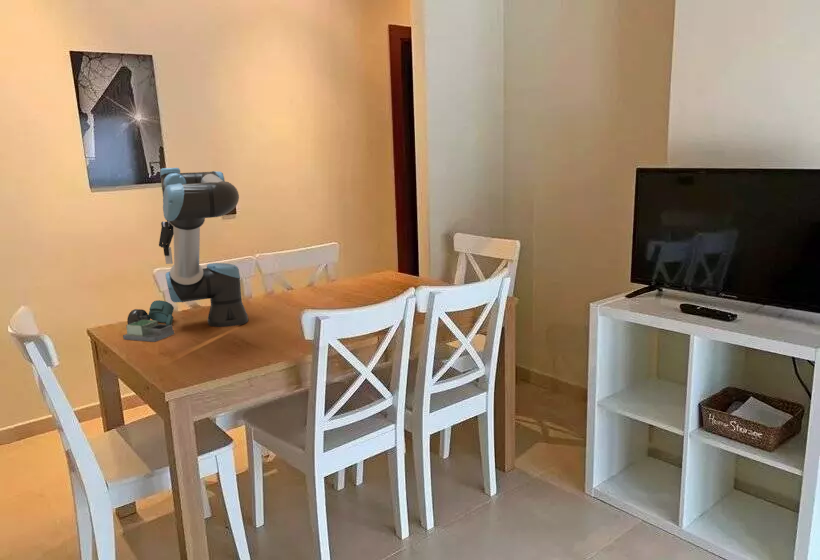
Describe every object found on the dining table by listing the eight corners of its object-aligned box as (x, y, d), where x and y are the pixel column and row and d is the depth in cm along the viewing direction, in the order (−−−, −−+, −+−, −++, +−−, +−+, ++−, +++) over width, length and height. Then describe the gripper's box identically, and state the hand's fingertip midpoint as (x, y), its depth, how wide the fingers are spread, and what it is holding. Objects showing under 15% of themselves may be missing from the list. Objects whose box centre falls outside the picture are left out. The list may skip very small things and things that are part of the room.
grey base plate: (174, 334, 233) (172, 320, 232) (154, 341, 224) (153, 328, 223) (143, 331, 238) (142, 318, 237) (123, 339, 229) (121, 325, 228)
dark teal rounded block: (178, 306, 249) (172, 326, 244) (167, 314, 254) (160, 333, 249) (156, 296, 244) (150, 316, 239) (145, 305, 250) (139, 324, 244)
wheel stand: (153, 329, 241) (151, 307, 240) (138, 334, 234) (135, 312, 232) (140, 328, 244) (138, 306, 242) (125, 333, 236) (122, 311, 235)
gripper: (186, 204, 266) (191, 256, 271) (144, 210, 244) (151, 266, 248) (201, 204, 264) (206, 256, 268) (160, 210, 242) (166, 266, 246)
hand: (179, 261), depth 258 cm, fingers open, 12 cm apart
